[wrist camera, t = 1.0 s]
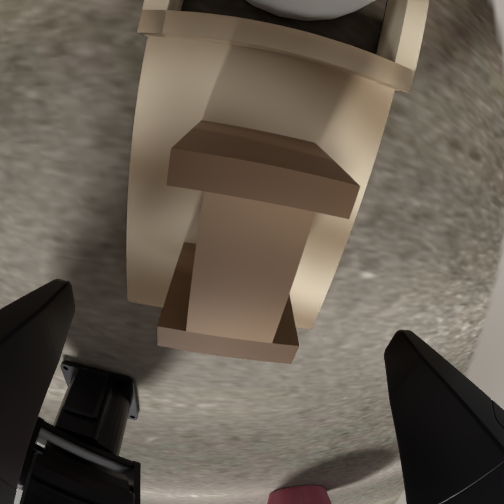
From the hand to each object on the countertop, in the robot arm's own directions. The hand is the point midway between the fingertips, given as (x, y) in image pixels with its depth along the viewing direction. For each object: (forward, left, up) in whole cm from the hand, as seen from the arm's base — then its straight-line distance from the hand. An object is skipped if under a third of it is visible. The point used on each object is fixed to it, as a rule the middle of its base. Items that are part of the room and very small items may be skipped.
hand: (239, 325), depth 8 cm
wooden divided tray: (+5, 0, -9) cm, 10 cm away
